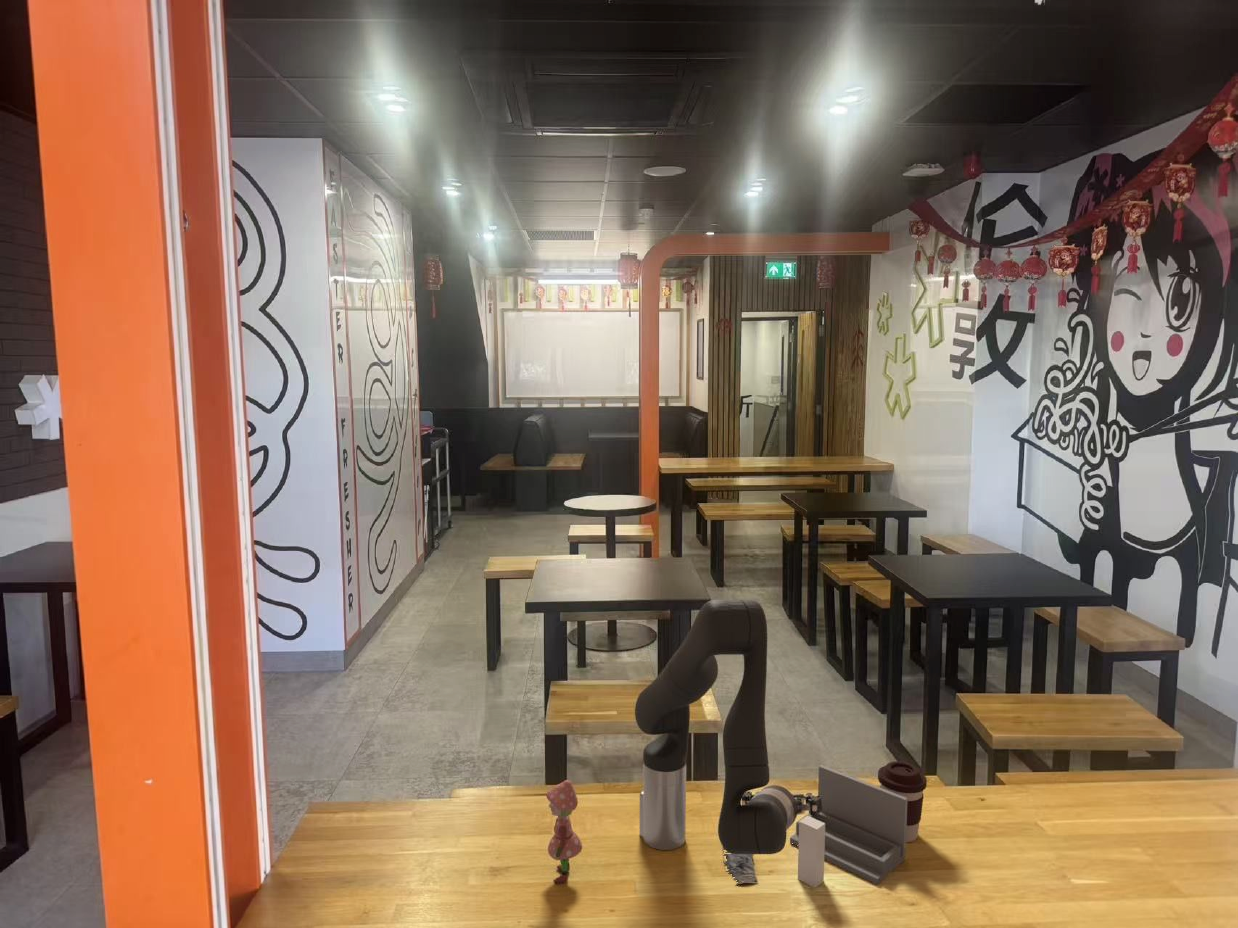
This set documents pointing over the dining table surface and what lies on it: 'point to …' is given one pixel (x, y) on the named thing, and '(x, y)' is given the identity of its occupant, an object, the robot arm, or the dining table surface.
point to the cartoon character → (563, 827)
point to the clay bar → (811, 851)
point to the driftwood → (741, 867)
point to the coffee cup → (905, 791)
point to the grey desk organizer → (860, 825)
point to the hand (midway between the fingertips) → (787, 797)
